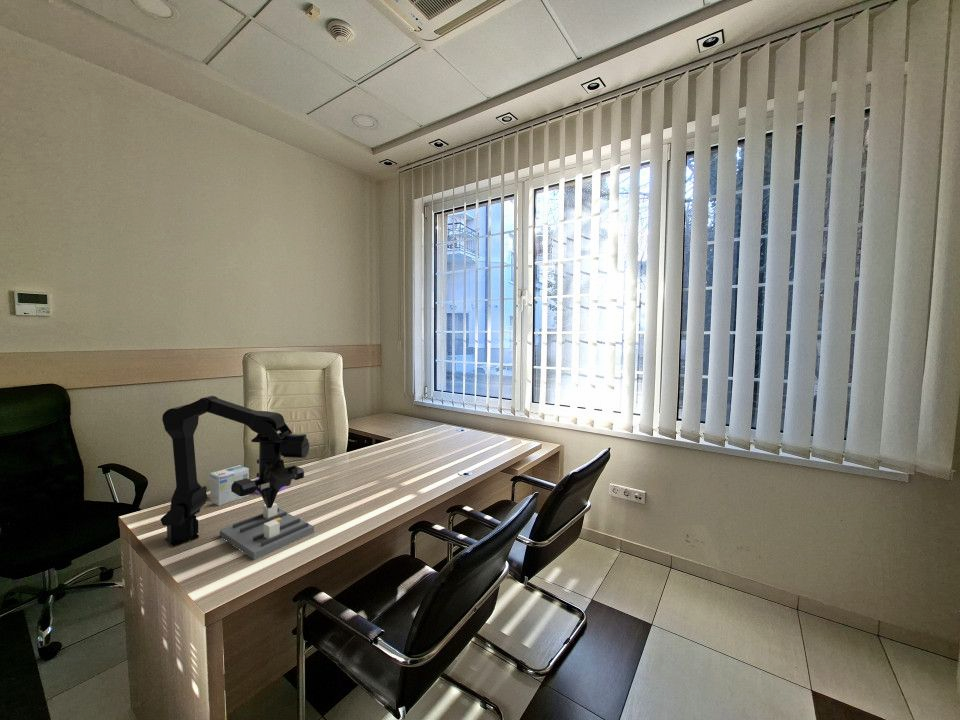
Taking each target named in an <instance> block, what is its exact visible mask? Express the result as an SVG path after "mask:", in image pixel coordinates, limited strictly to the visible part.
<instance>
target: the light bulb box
mask: <svg viewBox="0 0 960 720" xmlns="http://www.w3.org/2000/svg"><path fill="white" fill-rule="evenodd" d="M245 478H247V479H249V480H250V468H249V467H245V466H243V465H240V464H238V465H236V466H232V467H228V468H225V469H220V470H217V471H212V472H210V473H209V488H210V489H209V490H210V491H209V493H210V495H209V497H210V502H211V503H212V504H214V505H216V506H218V507H221V506H223V505H225V504H229V503H231V502H234V501H238V500H241V499H244V498H247V497H249V496H250V494H249V495H246V496H239V495H237V494H235V493H233V492H232V491H231V486H232V484H233V483H234V481H238V480H242V479H245Z"/></svg>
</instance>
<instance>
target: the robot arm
mask: <svg viewBox="0 0 960 720" xmlns="http://www.w3.org/2000/svg"><path fill="white" fill-rule="evenodd" d="M206 413H209V414H212V415H215V416H218V417H222V418H224V419H227V420H230V421H234V422H236V423H239V424H243V425H245V426H246V427H248V428H249V429H250V430H251V431H253V432H254V433H255V434H256V435H255V437H254V438H253V439H251V440H250V441H251V443H258V458H257V459H256V464H258V472H256V477H257V478H259V479H257V478H256V479H257V480H255V479H253V480H252V479H250V478H249V479H247V478H245V479H242V480H238V481H234V483H233V484H232V486H231V491H232V492H233V493H235V494H237V495H239V496H246V495H249V496H250V495H252V494H254V493H255V490H257V491H259V493H260V494H259V495H260V496H261V498H262V499H263V502H264V504H266V506H267V508H271V507H272V505H273V503H275V501H276V498H277V496H278V493H279V492H278V491H279V490H280V489H281V488H282V487H284V486H287V487H289V486H291V484H292V481H293V480H295V481H298V480H301V479H304V478H305V471H304V469H303V468H302V467H299V466H296V465H289V466H287V467H286V466H285V462H284V459H282V457H283V458H292V459H294V458H297V459H306V458H307V456H308V455H309V451H310V443H309V439H308V438H307V434H305V433H302V434H300V433H299V434H293V431H292V430H291V429H290V428H289V426H288V424H287V423H286V421H285V419H284V416H283V415H282V414H281V413H280V412H279V413H278V412H274V411H268V410H256V409H251V408H248V407H245V406H243V405H239V404H237V403H234V402H230V401H227V400H224V399H222V398H218V396H215V395H209V396H205V397H204V396H203V397H201V398H199V399H197V400H196V401H194V402H191V403H187V404H183V405H180V406H176V407H172V408H169V409H167V410H166V411H164V413H163V414H162V417H161V420H162V424H163V427H164V430H165V432H166V433H167V434H168V435H169V437H170V438H171V441H172V451H173V462H174V465H173V466H174V473H175V474H174V475H175V477H174V478H175V489H174V491H173V494H172V496H171V500H170V508H169V509H170V510H169V511H167V512H166V513H165V514H164V515H163V516H162V517H161V518H160V519H159V520H160V523H161V524H162V526H165V527H166V537H164V541H165V542H166V541H167V542H166V543H168V544H169V545H170V546H171V547H177V546H180V545H182V543H183V544H185V543H187V541H188V542H190V541H189V540H191V541H193V539H194V540H196V539H199V538H198V537H200V535H199V519H197V515H196V514H199V513H200V511H201V508H203V507H204V506H205V504H206V501H207V500H208V499H209V497H208V494H207V491H208V490H207V489H208V488H207V485H204V486H202V485H201V484H200V483H199V482H198V473H197V464H196V463H197V462H196V461H197V460H196V452H195V441H194V434H195V432H196V430H197V428H198V425H199V419H200V416H202V415H204V414H206ZM195 538H196V539H195ZM184 542H185V543H184ZM179 544H180V545H179ZM176 545H177V546H176Z"/></svg>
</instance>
